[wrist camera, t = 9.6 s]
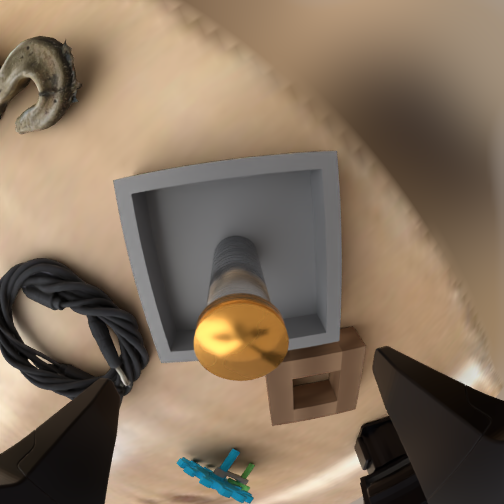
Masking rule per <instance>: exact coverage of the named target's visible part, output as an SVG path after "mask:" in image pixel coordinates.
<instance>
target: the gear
mask: <svg viewBox="0 0 504 504" xmlns="http://www.w3.org/2000/svg"><path fill="white" fill-rule="evenodd" d="M239 453H240V452H238V451H237V450H235V449H232V450H231V452H230V453H229V455H228V456H227V458H226V459H225V460H224V462H223V463H222V465H221V466H220V468H219V467H216V469H215V470H214V472H213V471H211V470H210V469H208V468H206V467H204V468H203V467H201V466H200V465H199V464H197V463H196V462H194V461H192V460H191V461H189V460H188V459H186V458H184V457H183V458H182V459H181V458H180V459H179V460H178V462H177V464H178V465H179V466H180V467H181V468H183V469H184V470H183V471H184V472H185V473H187V474H188V475H190V476H191V477H194V476H196V477H198V478H199V479H200V481H199V483H200V484H202V485H204V486H206V487H208V488H212V489H216V490H217V491H218V493H219V494H221V495H222V496H225V497H228V498H230V496H231V497H232V498H234V499H235V500H237V501H239V502H241V503H244V501H245V502H247V503H251V501H252V500H253V499H254V498H253V497H252V494H250V493H249V492H248V490H249V489H250V487H248V486H246V484H247V482H248V481H249V480H247V479H246V478H247V477H248V475H249V474H250V472H251V471H252V469H253V468H254V466H255V465H253V464H251V463H250V464H249V465H248V467H247V468H246V470H245V471H244V473H243V474H242V475H241V476H239V475H237V474H234V473H232V472H229V471H228V469H229V468H230V467H231V465H232V464H233V462H234V461H235V459H236V458H237V456H238V455H239ZM227 476H228V477H231V478H234V479H235V480H237V481H235V480H233V479H231V478H228V479H226V477H227ZM244 484H245V485H244Z"/></svg>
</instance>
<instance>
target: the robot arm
mask: <svg viewBox="0 0 504 504" xmlns="http://www.w3.org/2000/svg"><path fill="white" fill-rule="evenodd" d="M373 374H374V376H375V379H376V382H377V385H378V388H379V391H380V393H381V396H382V399H383V402H384V405H385V408H386V410H387V412H388V414H389V416H390V417H388V418H385V419H381V420H378V421H375V422H372V423H368V424H365V425H363V426H362V427H361V429H360V433H359V437H358V438H357V441H356V444H355V451H356V453H357V456H358V459H359V461H360V464H361V467H362V469H363V470H366V469H367V471H368V473H369V475H367V476H364V477H362V478H360V480H361V483H360V485H361V489H362V494H363V498H364V499H363V500H364V504H504V401H503V400H500V399H497V398H494V397H492V396H489V395H487V394H484V393H482V392H480V391H478V390H475V389H473V388H471V387H469V386H467V385H466V386H465V384H463V383H461V382H459V381H457V380H455V379H452V378H450V377H448V376H446V375H444V374H442V373H440V372H438V371H436V370H434V369H432V368H430V367H428V366H426V365H424V364H422V363H420V362H418V361H416V360H414V359H412V358H410V357H408V356H406V355H404V354H402V353H400V352H398V351H396V350H394V349H393V348H391V347H388V346H384V347H381V348H377V349H376V351H375V355H374V361H373ZM119 408H120V395H119V393H118V391H117V389H116V388H115V386H114V384H113V382H112V380H111V379H108V378H100V379H98V380H97V381H96V382H94V383H93V384H92V385H91V386H89V387H88V388H87V389H86V390H84V391H83V392H82V393H81V394H79V395H78V396H77V397H76V398H74V399H73V400H72V401H71V402H69V403H68V404H67V405H66V406H64V407H63V408H62V409H60V410H59V411H58V412H57V413H55V414H54V415H53V416H52V417H50V418H49V419H48V420H47V421H45V422H44V423H43V424H42V425H40V426H39V427H38V428H36V430H34V431H33V432H31V433H30V434H29V435H28V436H26V437H25V438H24V439H22V440H21V441H20V442H18V443H17V444H15V445H14V446H12V447H11V448H9V449H7V450H6V451H4V452H3V453H1V454H0V504H105V498H106V491H107V484H108V478H109V473H110V467H111V462H112V456H113V451H114V446H115V441H116V436H117V427H118V417H119Z"/></svg>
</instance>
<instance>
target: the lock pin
mask: <svg viewBox="0 0 504 504" xmlns="http://www.w3.org/2000/svg"><path fill="white" fill-rule="evenodd" d="M288 347H289V337H288V333H287V330H286V327H285V324H284V320H283V318H282V315H281V313H280V312H279V310H278V309H277V308H276V307H275V306H274V305H273V304H272V303H271V301H270V297H269V294H268V290H267V286H266V282H265V279H264V275H263V271H262V268H261V264H260V260H259V257H258V253H257V249H256V247H255V245H254V244H253V243H252V242H251V241H250V240H249V239H247V238H245V237H243V236H237V235H236V236H229V237H226V238H224V239H223V240H222V241H220V242H219V243H218V245H217V246H216V248H215V251H214V256H213V263H212V270H211V277H210V284H209V291H208V298H207V305H206V307H205V308H204V310H203V311H202V312H201V314H200V316H199V318H198V321H197V325H196V331H195V337H194V351H195V354H196V357H197V359H198V360H199V362H200V363H201V364H202V365H203V367H204V368H206V369H207V370H208V371H209V372H211V373H213V374H214V375H216V376H219V377H221V378H225V379H229V380H237V381H244V380H252V379H256V378H259V377H262V376H264V375H266V374H268V373H270V372H272V371H273V370H274V369H275V368H277V367H278V366H279V365H280V364H281V362H282V361H283V360H284V358H285V356H286V354H287V351H288Z"/></svg>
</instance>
